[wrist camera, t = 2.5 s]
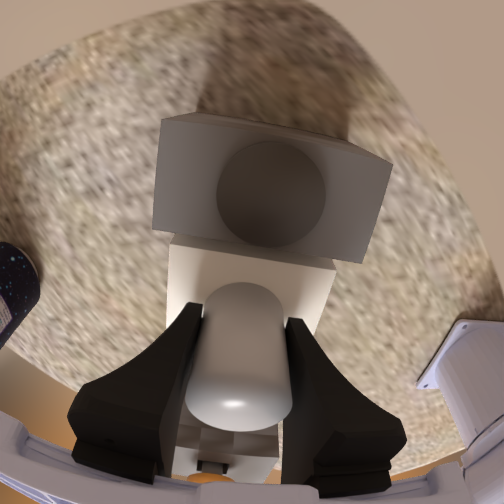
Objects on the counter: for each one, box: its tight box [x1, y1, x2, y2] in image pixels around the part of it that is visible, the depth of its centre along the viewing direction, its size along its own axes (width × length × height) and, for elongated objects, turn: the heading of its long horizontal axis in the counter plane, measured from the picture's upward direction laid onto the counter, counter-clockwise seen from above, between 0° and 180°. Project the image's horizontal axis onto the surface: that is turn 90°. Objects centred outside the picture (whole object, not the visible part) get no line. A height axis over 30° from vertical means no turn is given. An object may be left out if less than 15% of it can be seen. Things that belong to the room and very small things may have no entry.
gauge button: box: [187, 460, 235, 483], centre depth 19 cm, size 4×4×3 cm
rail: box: [152, 112, 393, 484], centre depth 18 cm, size 9×26×6 cm, turn 170°
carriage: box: [166, 233, 337, 431], centre depth 13 cm, size 7×6×8 cm
